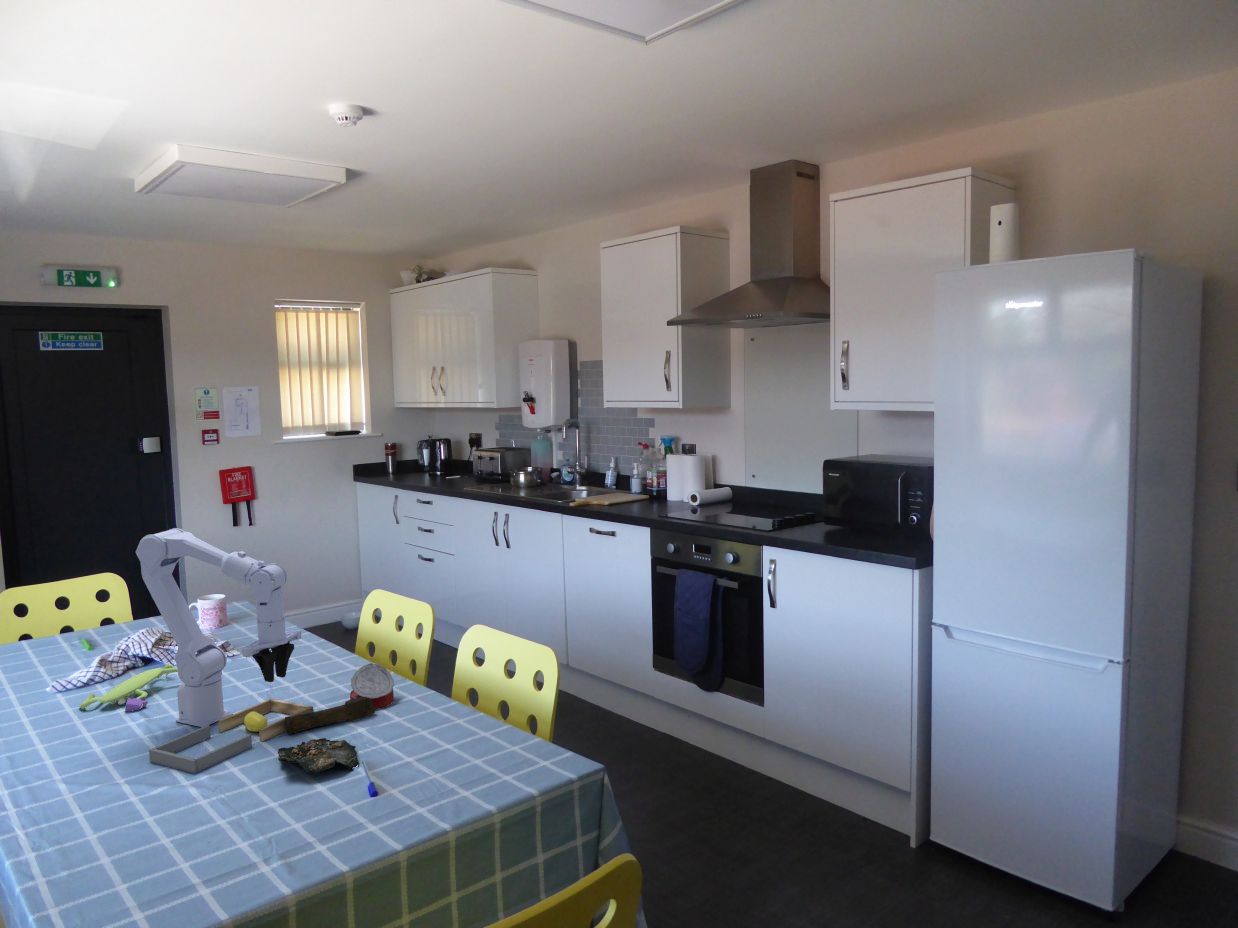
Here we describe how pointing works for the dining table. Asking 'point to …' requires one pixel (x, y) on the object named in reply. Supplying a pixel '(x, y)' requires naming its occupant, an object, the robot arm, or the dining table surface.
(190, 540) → the robot arm
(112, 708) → the dining table surface
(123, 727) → the dining table surface
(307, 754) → the decorative rock
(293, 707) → the oak frame
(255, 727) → the lemon
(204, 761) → the grey frame
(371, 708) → the hand tool
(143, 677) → the figurine
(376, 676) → the canned food
